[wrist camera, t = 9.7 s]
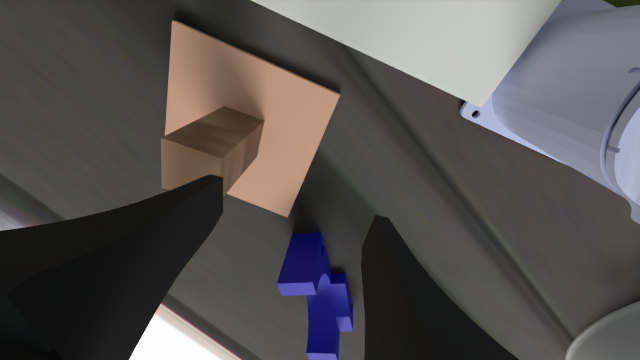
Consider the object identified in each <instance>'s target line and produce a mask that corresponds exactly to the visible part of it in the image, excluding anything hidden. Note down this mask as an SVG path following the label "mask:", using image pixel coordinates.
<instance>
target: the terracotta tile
mask: <svg viewBox="0 0 640 360" xmlns="http://www.w3.org/2000/svg"><path fill="white" fill-rule="evenodd" d="M339 97H340V93H337V92H335V91H333V90H331V89H329V88H326V87H324V86H322V85H320V84H317V83H315V82H313V81H311V80H308V79H306V78H304V77H302V76H300V75H297V74H295V73H293V72H291V71H288V70H286V69H284V68H282V67H279V66H277V65H275V64H273V63H270V62H268V61H266V60H264V59H262V58H259V57H257V56H255V55H253V54H250V53H248V52H246V51H244V50H241V49H239V48H237V47H235V46H233V45H230V44H228V43H226V42H224V41H221V40H219V39H217V38H215V37H212V36H210V35H208V34H206V33H203V32H201V31H199V30H197V29H195V28H192V27H190V26H188V25H186V24H183V23H181V22H179V21H173V20H172V33H171V49H170V65H169V81H168V96H167V112H166V128H165V136H166V135H168V134H170V133H172V132H174V131H175V130H177V129H179V128H181V127H183V126H185V125H187V124H189V123H191V122H193V121H195V120H197V119H199V118H201V117H203V116H205V115H207V114H209V113H211V112H213V111H215V110H217V109H219V108H221V107H223V106H225V107H228V108H231V109H234V110H236V111H239V112H242V113H245V114H248V115H250V116H253V117H256V118H259V119H262V120H264V121H265V122H264V126H263V131H262V136H261V140H260V145H259V150H258V155H257V157H256V158H255V160H254V161H253V162H252V163H251V164H250V166H249V167H248V168H247V169H246V170H245V172H244V173H243V174H242V175H241V176H240V178H239V179H238V180H237V181H236V182H235V184H234V185H233V186H232V187H231V188H230V190H229V191H228V192H227V193H226V194H229V195H232V196H234V197H237V198H239V199H242V200H244V201H247V202H250V203H252V204H255V205H257V206H260V207H262V208H265V209H267V210H270V211H273V212H275V213H278V214H280V215H283V216H285V217H288V215H289V213H290V211H291V208H292V206H293V204H294V201H295V199H296V197H297V194H298V192H299V190H300V187H301V185H302V183H303V180H304V178H305V176H306V173H307V171H308V169H309V166H310V164H311V162H312V159H313V157H314V155H315V152H316V150H317V148H318V145H319V143H320V141H321V138H322V136H323V134H324V131H325V129H326V127H327V124H328V122H329V120H330V118H331V115H332V113H333V111H334V108H335V106H336V104H337V101H338V99H339Z"/></svg>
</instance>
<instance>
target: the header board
mask: <svg viewBox="0 0 640 360" xmlns="http://www.w3.org/2000/svg"><path fill="white" fill-rule="evenodd" d="M251 1H254V2H256V3H258V4H260V5H262V6H264V7H266V8H269V9H271V10H273V11H275V12H277V13H279V14H281V15H283V16H286V17H288V18H290V19H292V20H294V21H296V22H298V23H301V24H303V25H305V26H307V27H309V28H311V29H313V30H315V31H318V32H320V33H322V34H324V35H326V36H328V37H330V38H333V39H335V40H337V41H339V42H341V43H343V44H345V45H348V46H350V47H352V48H354V49H356V50H358V51H360V52H362V53H365V54H367V55H369V56H371V57H373V58H375V59H377V60H380V61H382V62H384V63H386V64H388V65H390V66H392V67H394V68H397V69H399V70H401V71H403V72H405V73H407V74H409V75H412V76H414V77H416V78H418V79H420V80H422V81H424V82H427V83H429V84H431V85H433V86H435V87H437V88H439V89H441V90H444V91H446V92H448V93H450V94H452V95H454V96H456V97H459V98H461V99H463V100H465V101H467V102H469V103H471V104H473V105H476V106H478V107H480V108H482V106H483V105H484V104H485V102H486V101H487V100H488V98H489V97H490V96H491V94H492V93H493V92H494V90H495V89H496V88H497V86H498V85H499V84H500V82H501V81H502V80H503V78H504V77H505V76H506V74H507V73H508V72H509V70H510V69H511V67H512V66H513V65H514V63H515V62H516V61H517V59H518V58H519V57H520V55H521V54H522V53H523V51H524V50H525V49H526V47H527V46H528V45H529V43H530V42H531V41H532V39H533V38H534V37H535V35H536V34H537V33H538V31H539V30H540V29H541V27H542V26H543V25H544V23H545V22H546V21H547V19H548V18H549V17H550V15H551V14H552V13H553V11H554V10H555V9H556V7H557V6H558V5H559V3H560V2H561V1H562V0H251Z"/></svg>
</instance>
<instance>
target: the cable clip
mask: <svg viewBox="0 0 640 360" xmlns="http://www.w3.org/2000/svg"><path fill="white" fill-rule="evenodd" d="M277 285H278V288H279V290H280V292H281V295H282V296H288V295H306V296H307V303H308V320H309V326H308V343H307V352H306V354H307V356H308V358H309V360H338V353H339V332H340V331H353V305H352V301H351V296H350V292H349V287H348V283H347V278H346V274H345V273H335V274H332V272H331V269H330V265H329V261H328V257H327V253H326V249H325V246H324V242H323V238H322V234H321V232H317V233H305V234H292V237H291V240H290V243H289V247H288V250H287V253H286V256H285V259H284V263H283V266H282V269H281V272H280V275H279V278H278V282H277Z"/></svg>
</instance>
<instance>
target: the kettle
mask: <svg viewBox="0 0 640 360" xmlns="http://www.w3.org/2000/svg"><path fill="white" fill-rule="evenodd" d="M565 360H640V301H638V302H635V303H633V304H630V305H628V306H625V307H623V308H621V309H618V310H616V311H614V312H612V313H610V314H608V315H606V316H604V317H603V318H601V319H599V320H597V321H596V322H594V323H593V324H591V325H590V326H588V327H587V328H586V329H584V330H583V331H582V332H581V333H580V334H579V335H578V336H577V337H576V338H575V339H574V340H573V341H572V343H571V344H570V346H569V347H568V349H567V352H566V356H565Z"/></svg>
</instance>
